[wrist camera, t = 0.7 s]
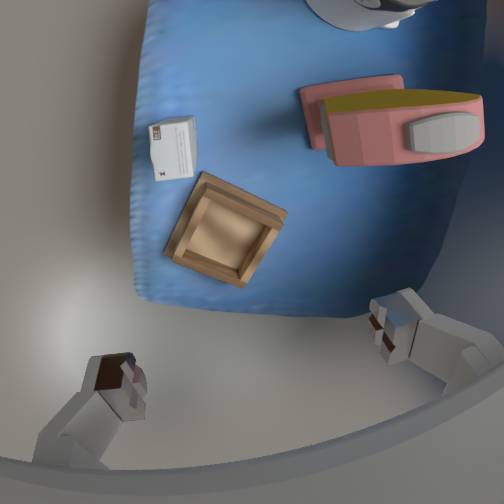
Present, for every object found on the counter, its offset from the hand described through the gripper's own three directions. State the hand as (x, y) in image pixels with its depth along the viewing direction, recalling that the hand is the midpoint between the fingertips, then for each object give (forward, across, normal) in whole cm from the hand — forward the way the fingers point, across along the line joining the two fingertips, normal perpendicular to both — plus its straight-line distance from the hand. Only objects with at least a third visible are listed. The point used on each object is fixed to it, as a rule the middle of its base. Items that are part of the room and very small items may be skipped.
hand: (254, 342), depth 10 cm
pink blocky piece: (+37, -22, -2) cm, 43 cm away
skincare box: (+37, +4, -2) cm, 37 cm away
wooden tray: (+36, +1, +13) cm, 39 cm away
